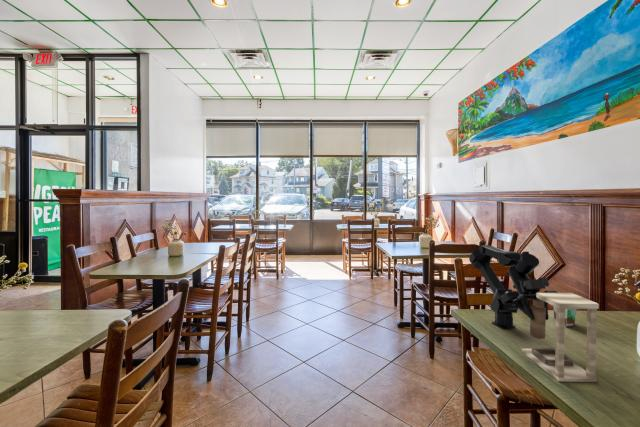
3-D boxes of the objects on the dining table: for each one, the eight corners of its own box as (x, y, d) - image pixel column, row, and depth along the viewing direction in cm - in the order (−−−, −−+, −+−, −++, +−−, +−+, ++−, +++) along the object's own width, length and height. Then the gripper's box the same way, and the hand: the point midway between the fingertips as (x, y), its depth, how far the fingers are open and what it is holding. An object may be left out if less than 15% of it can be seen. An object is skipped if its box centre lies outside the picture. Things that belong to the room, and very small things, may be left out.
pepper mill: (528, 332, 113) (529, 297, 112) (543, 334, 112) (543, 299, 111) (531, 337, 109) (532, 301, 108) (546, 339, 107) (547, 303, 107)
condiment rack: (521, 351, 109) (522, 286, 108) (553, 351, 109) (554, 286, 107) (558, 381, 91) (559, 303, 90) (596, 381, 91) (598, 303, 90)
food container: (585, 329, 125) (585, 305, 125) (568, 328, 127) (568, 305, 126) (567, 318, 137) (567, 296, 137) (552, 317, 139) (552, 295, 138)
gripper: (505, 269, 113) (524, 310, 103) (556, 269, 113) (581, 309, 102) (493, 284, 121) (510, 323, 111) (541, 283, 121) (562, 322, 111)
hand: (540, 319), depth 109 cm, fingers closed on pepper mill, 4 cm apart
